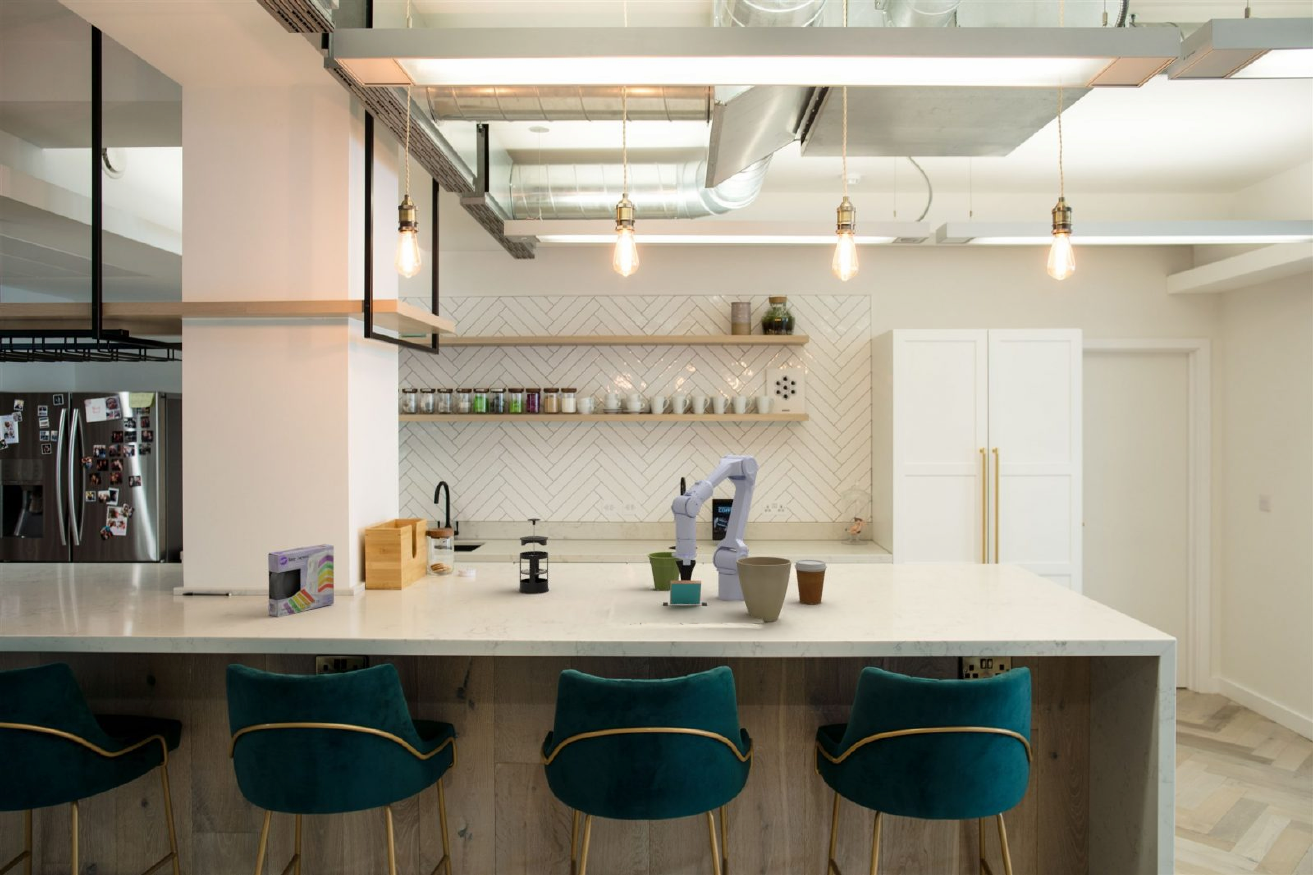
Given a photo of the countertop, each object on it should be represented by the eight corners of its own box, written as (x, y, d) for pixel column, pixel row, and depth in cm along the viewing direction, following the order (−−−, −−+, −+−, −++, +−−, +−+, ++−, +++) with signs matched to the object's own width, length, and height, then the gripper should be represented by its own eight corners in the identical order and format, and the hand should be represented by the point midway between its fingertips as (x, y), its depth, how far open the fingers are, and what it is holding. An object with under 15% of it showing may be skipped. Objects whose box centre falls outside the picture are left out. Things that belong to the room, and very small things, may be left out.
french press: (547, 594, 251) (547, 520, 251) (516, 594, 251) (516, 520, 250) (550, 586, 263) (550, 516, 262) (521, 586, 262) (521, 516, 262)
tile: (699, 601, 232) (701, 580, 226) (700, 604, 231) (701, 583, 225) (669, 601, 232) (670, 580, 226) (670, 604, 231) (670, 583, 225)
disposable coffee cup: (791, 603, 239) (791, 563, 238) (798, 597, 248) (798, 558, 247) (823, 606, 235) (823, 565, 235) (829, 600, 244) (829, 560, 244)
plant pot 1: (645, 586, 264) (645, 551, 264) (681, 585, 266) (681, 551, 265) (649, 593, 253) (649, 557, 252) (686, 593, 254) (686, 557, 254)
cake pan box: (274, 618, 219) (274, 553, 219) (263, 616, 221) (263, 552, 221) (335, 605, 235) (335, 544, 235) (324, 603, 238) (324, 543, 238)
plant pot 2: (780, 611, 229) (781, 555, 229) (798, 624, 214) (799, 564, 214) (729, 613, 226) (730, 556, 226) (744, 626, 212) (745, 566, 211)
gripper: (671, 534, 235) (671, 580, 235) (672, 542, 220) (672, 591, 221) (695, 534, 235) (695, 580, 235) (697, 542, 220) (698, 591, 221)
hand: (685, 586), depth 228 cm, fingers closed, pressing on tile
